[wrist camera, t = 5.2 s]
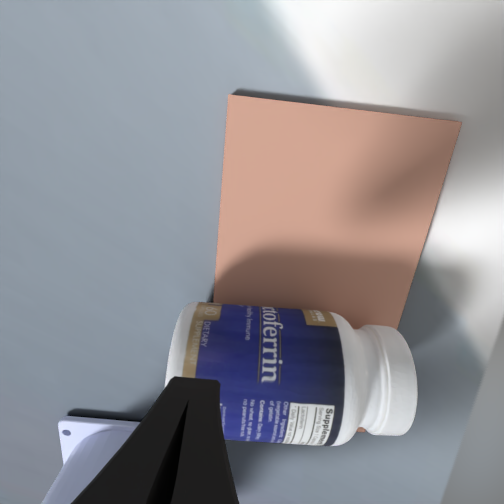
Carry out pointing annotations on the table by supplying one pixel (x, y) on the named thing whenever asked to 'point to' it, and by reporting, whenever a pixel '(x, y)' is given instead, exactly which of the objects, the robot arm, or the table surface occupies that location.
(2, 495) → the table surface
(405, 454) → the table surface
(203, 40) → the table surface
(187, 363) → the pill bottle
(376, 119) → the mat
